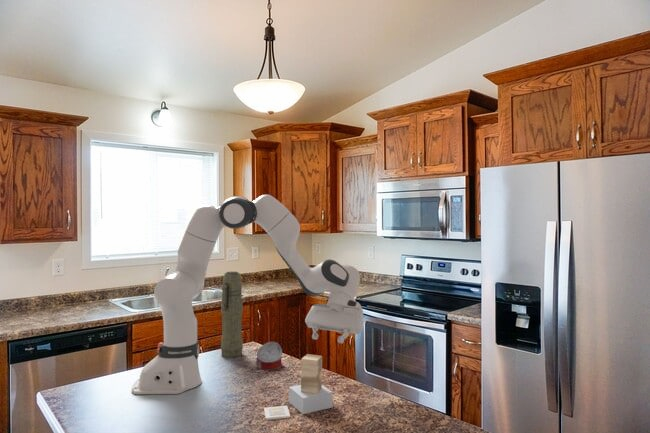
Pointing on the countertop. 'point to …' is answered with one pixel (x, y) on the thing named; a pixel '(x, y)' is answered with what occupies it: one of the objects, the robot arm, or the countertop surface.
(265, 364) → the canned food
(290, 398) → the grey-blue block
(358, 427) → the countertop surface
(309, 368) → the maple block
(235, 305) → the thermos
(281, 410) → the picture tile
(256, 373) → the countertop surface
